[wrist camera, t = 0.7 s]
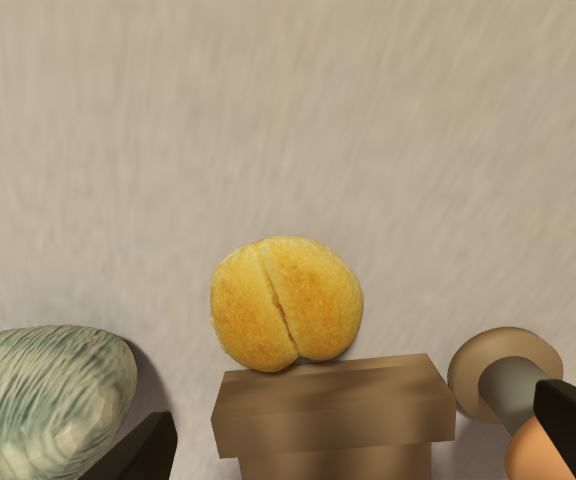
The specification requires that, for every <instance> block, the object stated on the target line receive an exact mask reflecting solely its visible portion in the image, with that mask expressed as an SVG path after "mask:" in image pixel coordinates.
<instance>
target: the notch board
mask: <svg viewBox="0 0 576 480" xmlns="http://www.w3.org/2000/svg"><path fill="white" fill-rule="evenodd" d="M455 421H456V397H455V396H454V394H453V393H452V391H451V390H450V388H449V387H448V385H447V384H446V382H445V381H444V379H443V378H442V376H441V375H440V373H439V372H438V370H437V369H436V367H435V366H434V364H433V363H432V361H431V360H430V358H429V357H428V355H427V354H426V353H425V354H414V355H403V356H392V357H381V358H370V359H359V360H348V361H337V362H326V363H315V364H304V365H293V366H287V367H286V368H284V369H281V370H279V371H276V372H262V371H258V370H254V369H249V370H238V371H227V372H225V374H224V377H223V380H222V384H221V387H220V390H219V393H218V397H217V400H216V403H215V407H214V410H213V413H212V416H211V423H212V428H213V432H214V436H215V440H216V445H217V449H218V453H219V457H220V459H222V458H235V457H238V460H239V464H240V469H241V474H242V479H243V480H431V442H440V441H453V440H455Z"/></svg>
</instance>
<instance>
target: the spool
mask: <svg viewBox="0 0 576 480" xmlns="http://www.w3.org/2000/svg"><path fill="white" fill-rule="evenodd" d="M136 385H137V367H136V363H135V360H134V356H133V354H132V352H131V350H130V349H129V347H128V345H127V344H126V343H125V342H124V341H123V340H122V338H121V337H119V336H117V335H115V334H112V333H110V332H107V331H105V330H101V329H96V328H90V327H83V326H76V325H61V326H38V327H30V328H21V329H12V330H6V331H1V332H0V480H74V479H76V478H77V477H79V476H80V475H81V474H82V473H84V472H85V471H86V470H87V469H88V468H89V467H90V466H91V465H92V464H94V463H95V462H96V461H97V460H98V459H99V458H100V457H101V455H102V454H103V453H104V452H105V451H106V450H107V448H108V447H109V445H110V444H111V442H112V440H113V439H114V437H115V436H116V434H117V433H118V431H119V430H120V428H121V426H122V424H123V423H124V421H125V419H126V417H127V415H128V412H129V409H130V405H131V403H132V400H133V398H134V395H135V391H136Z"/></svg>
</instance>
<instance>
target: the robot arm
mask: <svg viewBox="0 0 576 480" xmlns="http://www.w3.org/2000/svg"><path fill="white" fill-rule="evenodd" d="M533 411H534V414H535V416H536V418H537V420H538V421H539V423H540V425H541V426H542V428H543V429H544V431H545V432H546V434H547V435H548V437H549V439H550V440H551V442H552V443H553V445H554V446H555V448H556V449H557V451H558V452H559V454H560V456H561V457H562V459H563V460H564V462H565V463H566V465H567V466H568V468H569V470H570V471H571V473H572V474H573V476H574V477H575V479H576V387H575V386H573V385H571V384H569V383H567V382H565V381H562V380H560V379H557V378H551V379H540V380H538V381H537V382H536V385H535V393H534V401H533ZM177 442H178V437H177V432H176V428H175V425H174V421H173V417H172V414H171V412H170V411H168V410H164V411H155V412H152V413H151V414H150V415H148V416H147V417H146V418H145V419H144V420H143V421H142V422H141V423H140V424H138V425H137V426H136V427H135V428H134V429H133V430H132V431H131V432H130V433H128V434H127V435H126V436H125V437H124V438H123V439H122V440H121V441H120V442H118V443H117V444H116V445H115V446H114V447H113V448H112V449H111V450H109V451H108V452H107V453H106V454H105V455H104V456H103V457H102V458H101V459H99V460H98V461H97V462H96V463H95V464H94V465H93V466H92V467H91V468H89V469H88V470H87V471H86V472H85V473H84V474H83V475H82V476H81V477H79V478H78V479H77V480H169V477H170V473H171V469H172V465H173V460H174V456H175V452H176V448H177Z"/></svg>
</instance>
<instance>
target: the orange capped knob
mask: <svg viewBox="0 0 576 480" xmlns="http://www.w3.org/2000/svg"><path fill="white" fill-rule="evenodd" d="M551 378H557V379H560V380H562V379H563V364H562V360H561V358H560V356H559V354H558V353H557V352H556V350H555V349H554V348H553V347H552V346H551V345H549V344H548V343H547V342H545V341H544V340H543V339H541V338H540V337H538V336H537V335H536V334H534V333H532V332H530V331H528V330H525V329H521V328H516V327H501V328H495V329H491V330H488V331H485V332H482V333H480V334H478V335H476V336H474V337H473V338H471V339H470V340H468V341H467V342H466V343H465V344H464V345H463V346H462V347H461V348H460V349H459V350H458V351H457V352H456V354H455V355H454V357H453V359H452V361H451V363H450V366H449V370H448V384H449V387H450V390H451V391H452V393H453V394H454V396H455V397H456V400H457V401H458V403H459V404H460V406H461V407H462V408H463V410H464V411H465V412H467V413H468V414H469V415H470V416H472V417H474V418H476V419H478V420H481V421H484V422H488V423H502V424H503V425H504V426H505V428H506V429H507V430H508V432H509V433H510V434H511V435H512V437H513V438H512V440H511V442H510V444H509V446H508V449H507V451H506V457H505V468H506V472H507V475H508V478H509V479H510V480H576V479H575V477H574V476H573V474H572V473H571V471H570V470H569V468H568V466H567V465H566V463H565V462H564V460H563V459H562V457H561V456H560V454H559V452H558V451H557V449H556V448H555V446H554V445H553V443H552V442H551V440H550V439H549V437H548V435H547V434H546V432H545V431H544V429H543V428H542V426H541V425H540V423H539V421H538V420H537V418H536V416H535V414H534V411H533V401H534V393H535V385H536V382H537V381H538V380H540V379H551Z"/></svg>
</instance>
